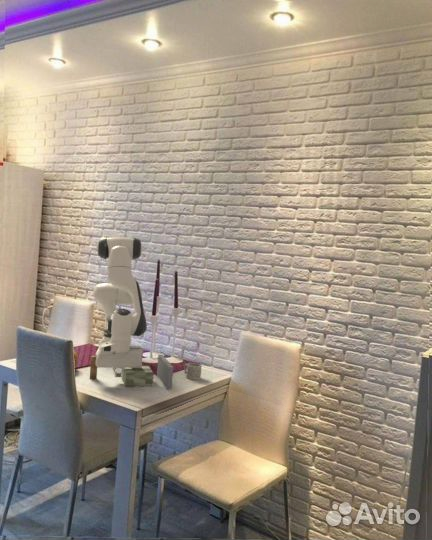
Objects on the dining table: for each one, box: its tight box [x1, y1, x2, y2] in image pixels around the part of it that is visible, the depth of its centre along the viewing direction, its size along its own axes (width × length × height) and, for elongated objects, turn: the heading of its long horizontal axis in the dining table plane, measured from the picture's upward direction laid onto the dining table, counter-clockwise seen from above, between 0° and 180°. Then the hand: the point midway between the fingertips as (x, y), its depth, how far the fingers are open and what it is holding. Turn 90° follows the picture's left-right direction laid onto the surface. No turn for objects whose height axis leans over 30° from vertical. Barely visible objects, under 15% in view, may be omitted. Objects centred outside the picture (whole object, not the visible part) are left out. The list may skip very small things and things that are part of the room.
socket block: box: [121, 365, 155, 388], centre depth 217 cm, size 12×12×6 cm
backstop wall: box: [156, 354, 174, 391], centre depth 221 cm, size 22×2×10 cm, turn 19°
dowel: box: [89, 355, 98, 380], centre depth 217 cm, size 3×3×10 cm
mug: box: [183, 362, 202, 381], centre depth 232 cm, size 10×7×7 cm, turn 46°
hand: (118, 377), depth 214 cm, fingers closed
